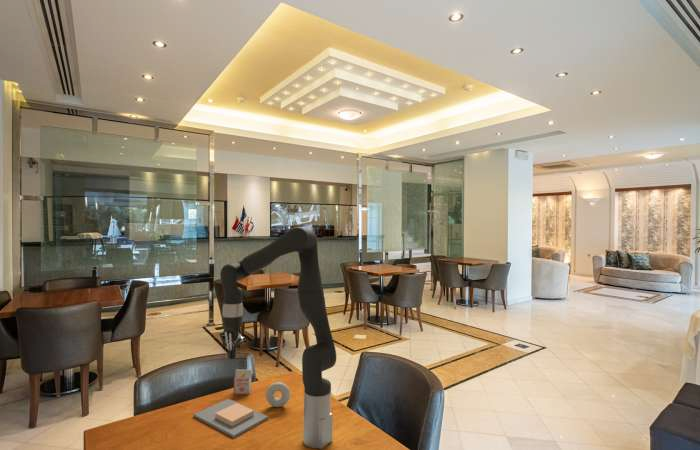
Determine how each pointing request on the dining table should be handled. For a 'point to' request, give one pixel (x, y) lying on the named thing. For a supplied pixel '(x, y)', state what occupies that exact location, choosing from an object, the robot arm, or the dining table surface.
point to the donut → (272, 399)
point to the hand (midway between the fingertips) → (231, 358)
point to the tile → (234, 414)
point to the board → (209, 418)
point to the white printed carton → (242, 382)
